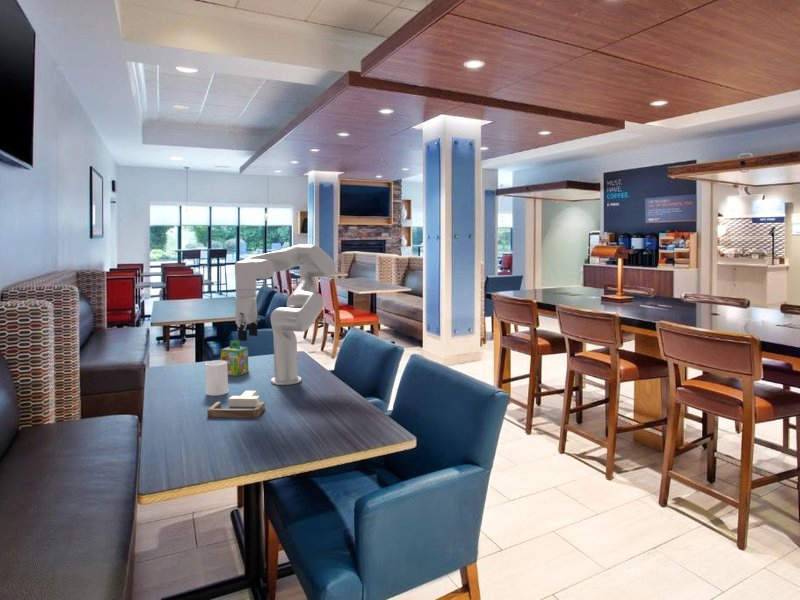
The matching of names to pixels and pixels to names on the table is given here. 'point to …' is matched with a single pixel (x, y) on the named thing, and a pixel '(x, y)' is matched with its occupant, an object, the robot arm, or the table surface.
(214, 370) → the mug
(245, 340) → the robot arm
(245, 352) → the chalk box
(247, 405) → the t block
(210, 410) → the brown u-shaped bracket
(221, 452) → the table surface
